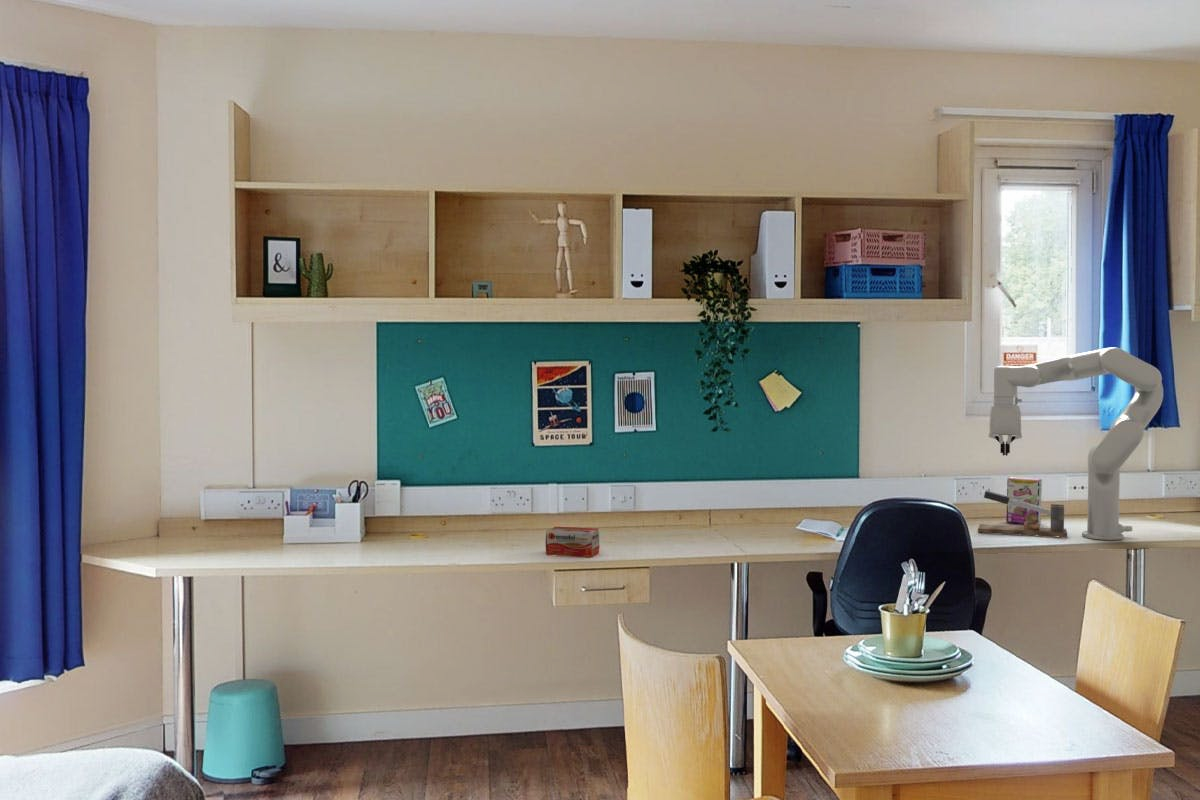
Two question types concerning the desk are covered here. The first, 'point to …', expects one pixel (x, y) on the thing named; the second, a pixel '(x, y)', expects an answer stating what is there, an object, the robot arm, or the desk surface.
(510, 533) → the desk surface
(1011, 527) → the press base
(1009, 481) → the candy bar box
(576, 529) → the medicine box
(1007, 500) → the lever
